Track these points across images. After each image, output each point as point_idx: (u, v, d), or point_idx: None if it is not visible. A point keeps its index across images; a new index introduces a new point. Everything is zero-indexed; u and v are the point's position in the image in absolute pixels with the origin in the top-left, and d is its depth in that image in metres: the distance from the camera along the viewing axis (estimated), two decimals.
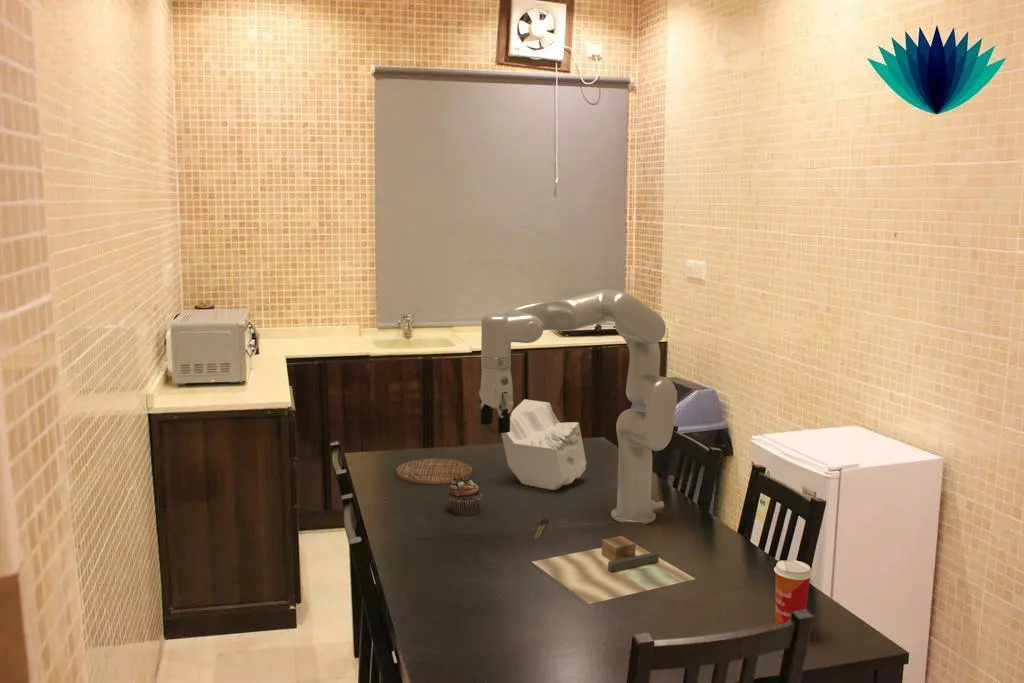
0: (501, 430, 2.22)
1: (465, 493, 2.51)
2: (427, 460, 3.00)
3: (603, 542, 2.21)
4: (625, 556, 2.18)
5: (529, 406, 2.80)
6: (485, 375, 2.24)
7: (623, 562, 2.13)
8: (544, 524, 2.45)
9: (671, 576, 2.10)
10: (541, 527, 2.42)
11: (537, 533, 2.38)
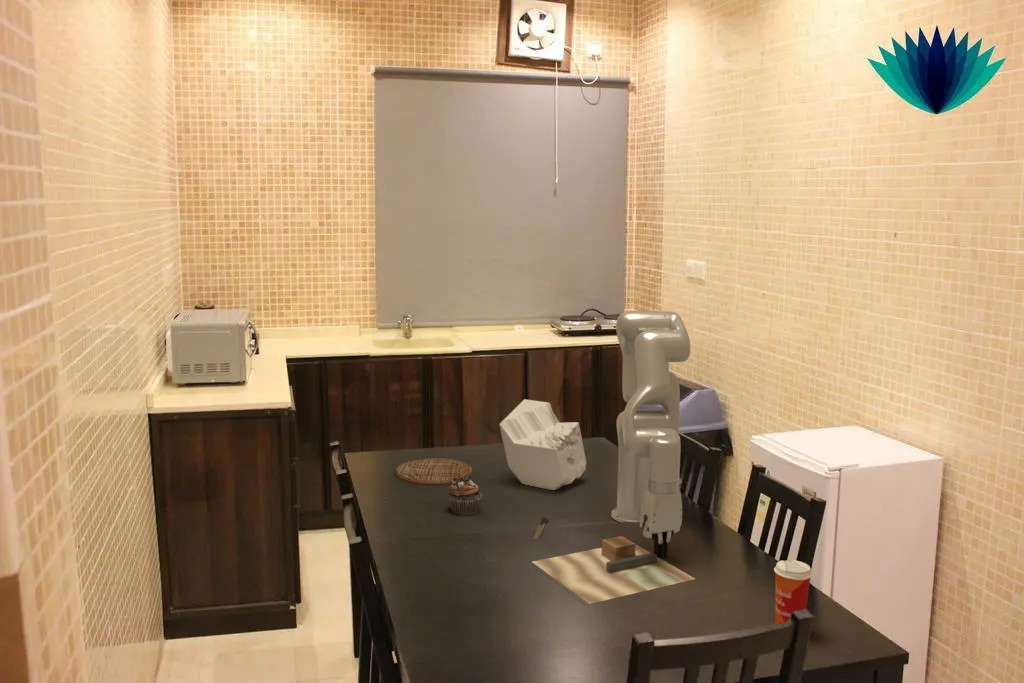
0: None
1: (465, 493, 2.51)
2: (427, 460, 3.00)
3: (603, 542, 2.21)
4: (625, 556, 2.18)
5: (529, 406, 2.80)
6: (666, 502, 2.14)
7: (621, 562, 2.12)
8: (544, 523, 2.46)
9: (671, 576, 2.10)
10: (541, 526, 2.43)
11: (537, 532, 2.38)
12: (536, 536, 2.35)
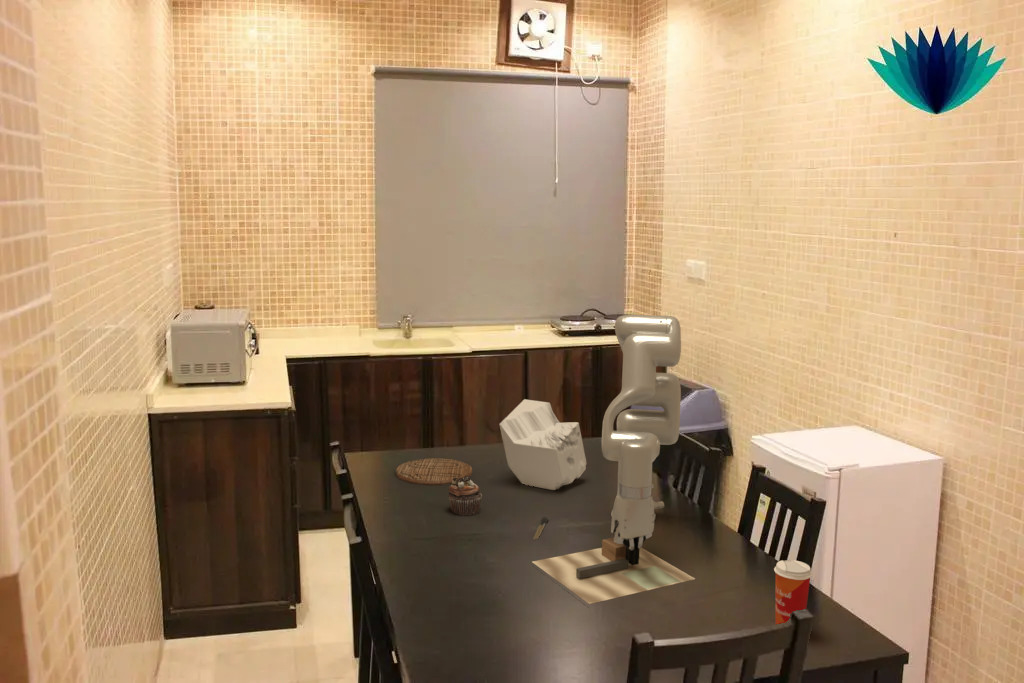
0: None
1: (465, 493, 2.51)
2: (427, 460, 3.00)
3: (603, 542, 2.21)
4: None
5: (529, 406, 2.80)
6: (637, 507, 2.10)
7: (591, 569, 2.08)
8: (544, 523, 2.46)
9: (671, 576, 2.10)
10: (541, 526, 2.43)
11: (537, 532, 2.38)
12: (536, 536, 2.36)
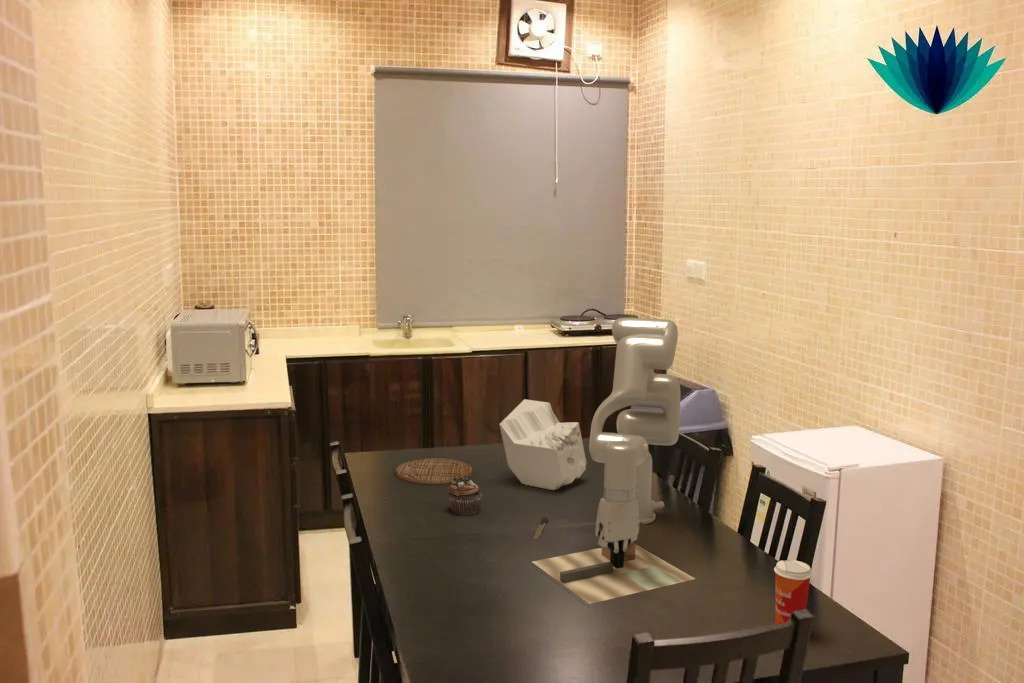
0: None
1: (465, 493, 2.51)
2: (427, 460, 3.00)
3: None
4: (625, 556, 2.18)
5: (529, 406, 2.80)
6: (622, 510, 2.08)
7: (575, 572, 2.06)
8: (544, 523, 2.46)
9: (671, 576, 2.10)
10: (541, 526, 2.43)
11: (537, 532, 2.38)
12: (536, 536, 2.36)
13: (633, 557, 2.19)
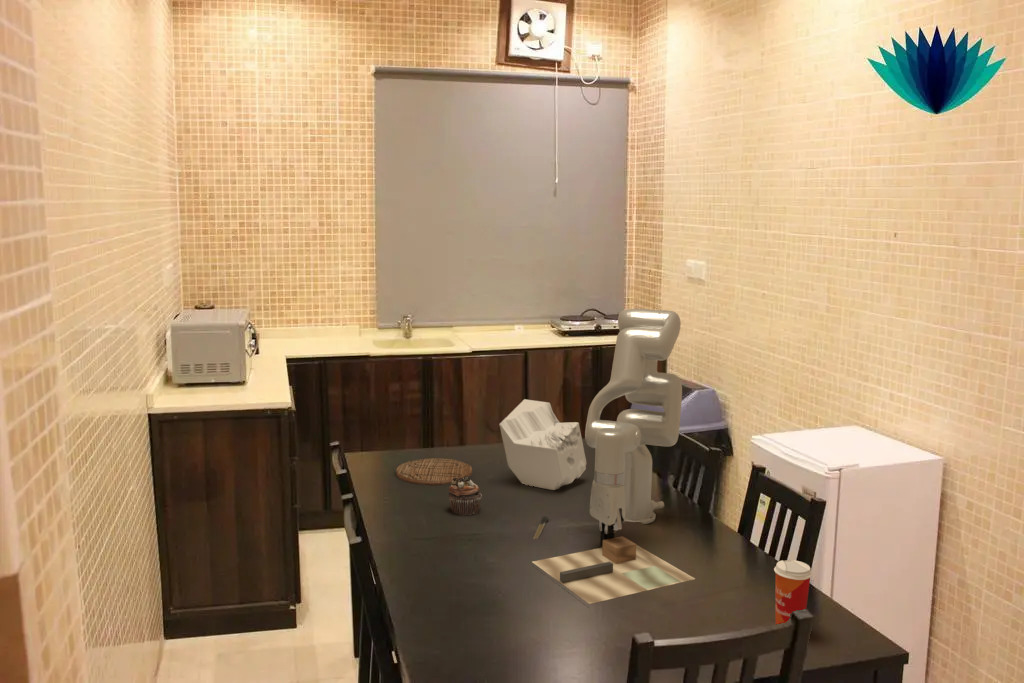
0: None
1: (465, 493, 2.51)
2: (427, 460, 3.00)
3: (604, 542, 2.21)
4: (626, 556, 2.18)
5: (529, 406, 2.80)
6: None
7: (575, 572, 2.06)
8: (544, 522, 2.46)
9: (671, 576, 2.10)
10: (541, 525, 2.43)
11: (537, 531, 2.39)
12: (536, 535, 2.36)
13: (634, 557, 2.19)
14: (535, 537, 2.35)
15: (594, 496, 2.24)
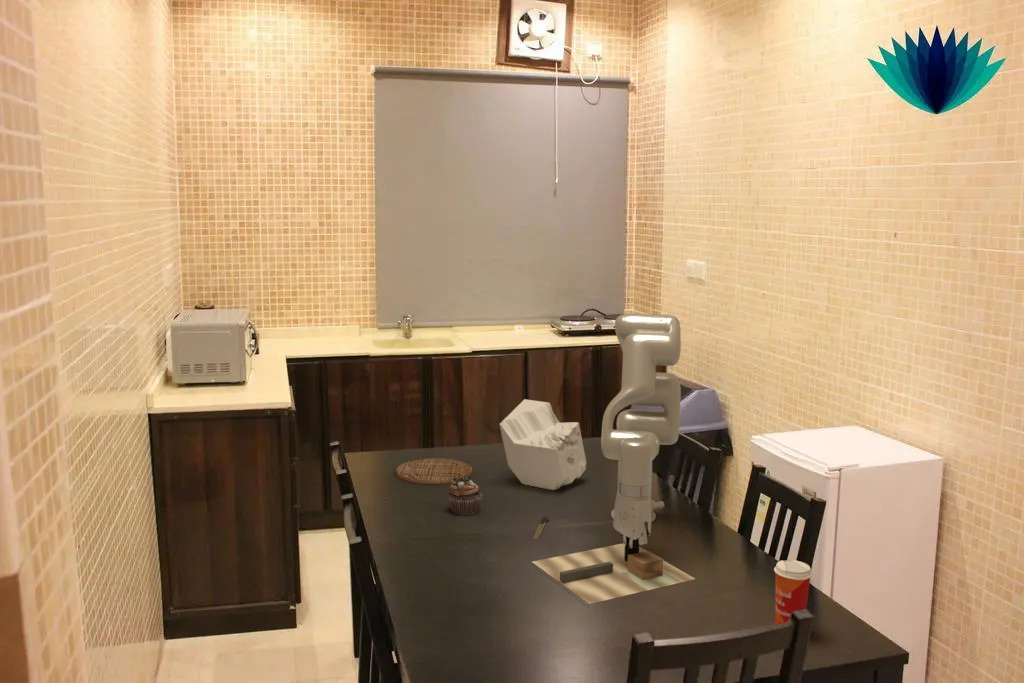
0: None
1: (465, 493, 2.51)
2: (427, 460, 3.00)
3: (629, 557, 2.12)
4: (652, 572, 2.09)
5: (529, 406, 2.80)
6: None
7: (575, 572, 2.06)
8: (544, 522, 2.47)
9: (671, 576, 2.10)
10: (541, 525, 2.44)
11: (537, 531, 2.39)
12: (536, 535, 2.36)
13: (661, 573, 2.10)
14: (535, 537, 2.35)
15: (618, 509, 2.14)
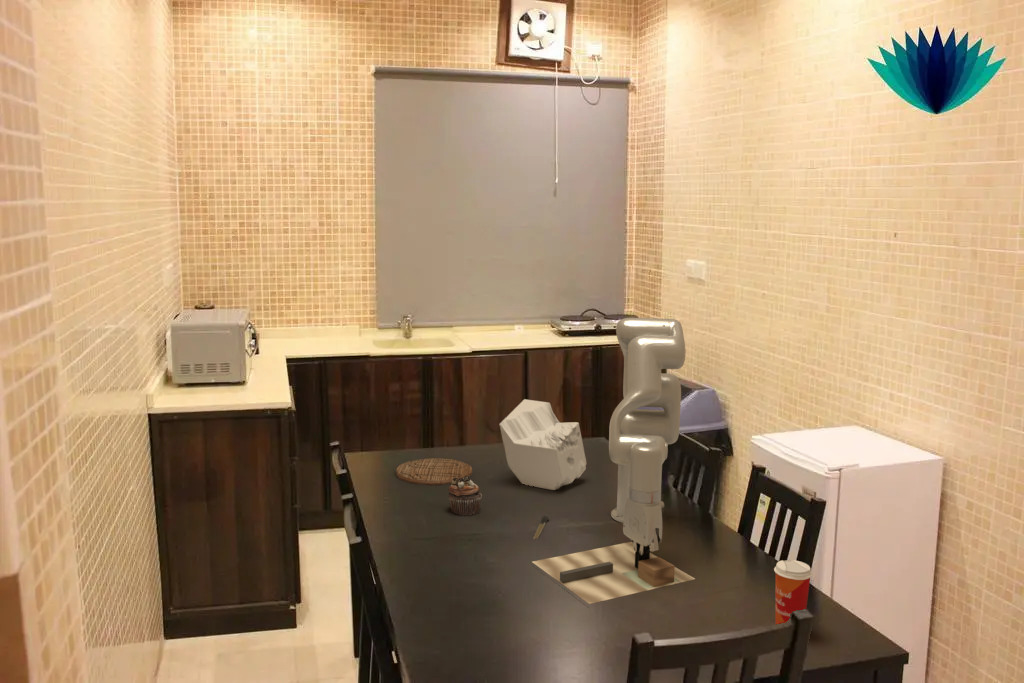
0: None
1: (465, 493, 2.51)
2: (427, 460, 3.00)
3: (640, 564, 2.08)
4: (664, 579, 2.05)
5: (529, 406, 2.80)
6: None
7: (575, 572, 2.06)
8: (544, 522, 2.47)
9: None
10: (541, 525, 2.44)
11: (538, 531, 2.39)
12: (536, 535, 2.36)
13: (672, 580, 2.06)
14: (535, 537, 2.35)
15: (628, 514, 2.11)
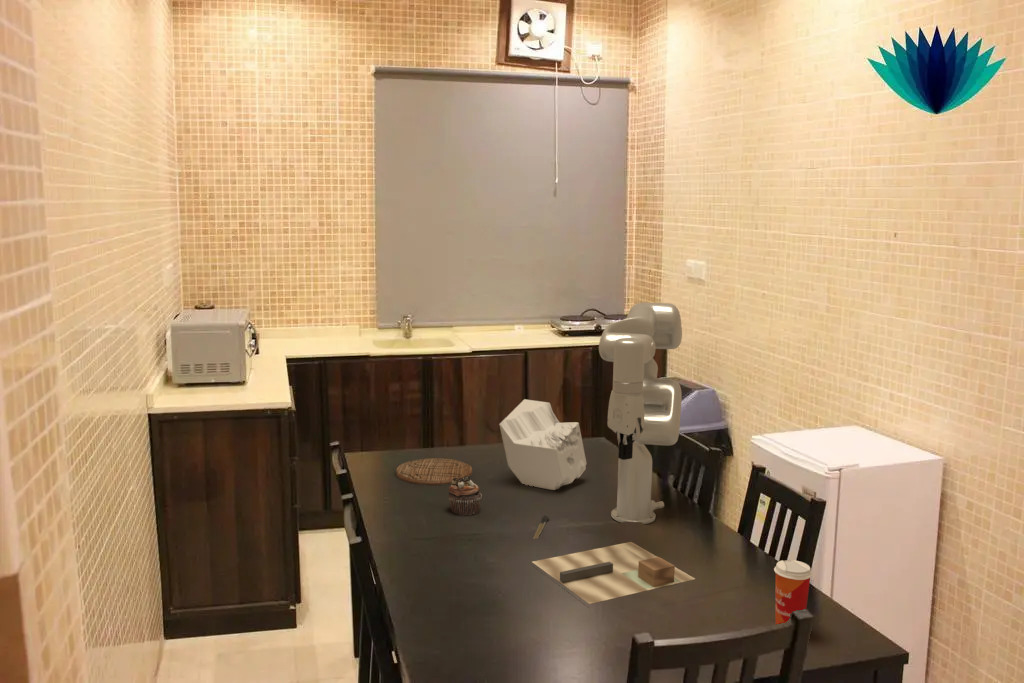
0: None
1: (465, 493, 2.51)
2: (427, 460, 3.00)
3: (640, 564, 2.08)
4: (664, 579, 2.05)
5: (529, 406, 2.80)
6: None
7: (575, 572, 2.06)
8: (545, 521, 2.47)
9: None
10: (542, 524, 2.44)
11: (538, 530, 2.40)
12: (537, 534, 2.37)
13: (672, 580, 2.06)
14: (535, 536, 2.35)
15: (612, 407, 2.21)
